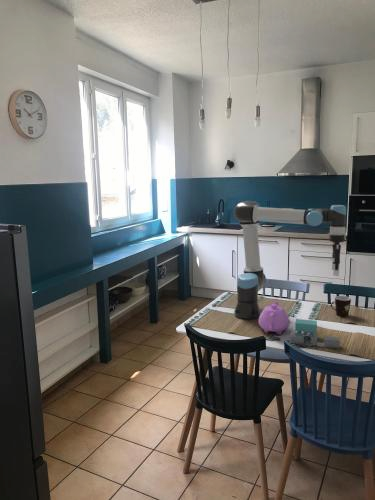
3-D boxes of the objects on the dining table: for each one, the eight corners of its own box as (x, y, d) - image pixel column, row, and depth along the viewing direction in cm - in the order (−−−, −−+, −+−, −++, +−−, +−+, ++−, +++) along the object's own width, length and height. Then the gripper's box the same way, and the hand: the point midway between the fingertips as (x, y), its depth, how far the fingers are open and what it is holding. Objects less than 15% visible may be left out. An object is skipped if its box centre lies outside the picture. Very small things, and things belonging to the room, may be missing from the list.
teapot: (262, 320, 214) (262, 296, 211) (291, 323, 208) (292, 299, 206) (255, 335, 193) (255, 309, 191) (287, 339, 188) (287, 312, 185)
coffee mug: (347, 312, 223) (348, 295, 221) (352, 317, 214) (353, 300, 212) (326, 312, 224) (327, 295, 222) (330, 317, 215) (331, 300, 214)
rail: (289, 343, 183) (289, 335, 182) (290, 340, 187) (290, 332, 186) (339, 349, 176) (339, 340, 175) (338, 345, 180) (339, 337, 179)
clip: (294, 337, 190) (295, 323, 188) (295, 333, 195) (296, 318, 194) (316, 339, 187) (316, 325, 185) (316, 335, 192) (317, 320, 191)
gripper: (346, 237, 194) (344, 278, 198) (342, 231, 218) (340, 267, 221) (331, 237, 196) (329, 277, 200) (328, 230, 220) (326, 267, 224)
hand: (335, 272), depth 211 cm, fingers open, 13 cm apart
